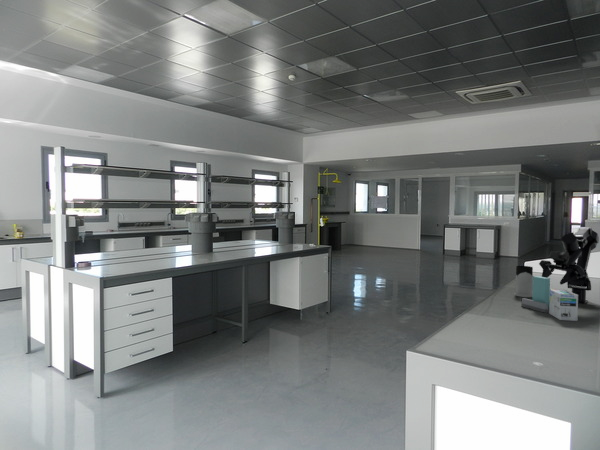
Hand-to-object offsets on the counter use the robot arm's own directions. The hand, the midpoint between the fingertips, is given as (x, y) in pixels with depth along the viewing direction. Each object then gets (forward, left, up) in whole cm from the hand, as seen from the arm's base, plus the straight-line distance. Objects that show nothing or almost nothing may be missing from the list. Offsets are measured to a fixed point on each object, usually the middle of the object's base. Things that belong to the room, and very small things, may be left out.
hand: (550, 282), depth 178 cm
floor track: (+6, -2, -12) cm, 13 cm away
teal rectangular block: (+6, -2, -11) cm, 12 cm away
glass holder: (-22, -19, -12) cm, 32 cm away
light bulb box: (+15, +9, -12) cm, 21 cm away
